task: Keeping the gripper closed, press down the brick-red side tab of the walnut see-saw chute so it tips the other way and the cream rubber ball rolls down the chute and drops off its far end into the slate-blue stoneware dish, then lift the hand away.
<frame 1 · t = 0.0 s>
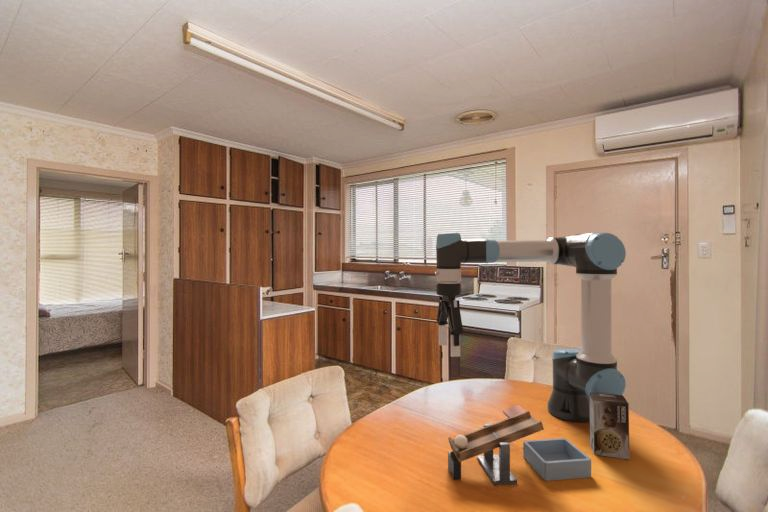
hand: (448, 350, 116), 28 cm above the table, fingers open, 13 cm apart
lever: (490, 428, 103), point 10 cm above the table, hinge at 17.1°, touching ball
coffee box: (608, 452, 109), on the table
fulcrum: (496, 470, 100), on the table
dish: (555, 466, 102), on the table
ball: (460, 441, 99), point 8 cm above the table, tilted 10°, touching lever
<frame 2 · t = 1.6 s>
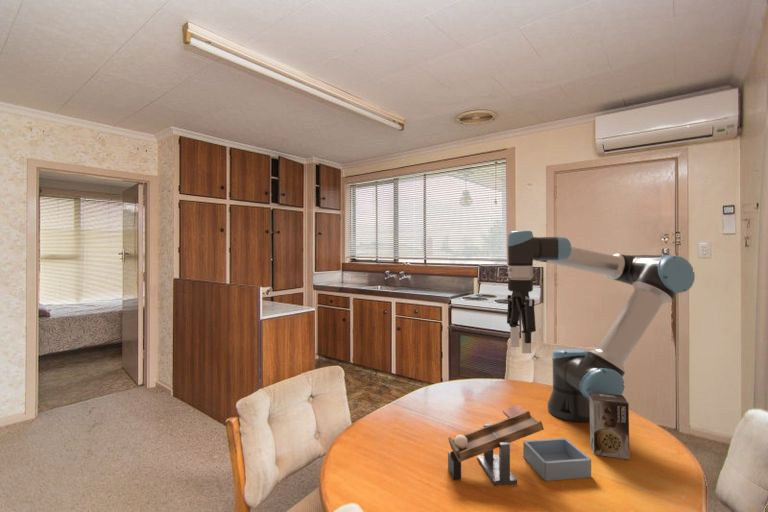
hand: (520, 349, 120), 27 cm above the table, fingers open, 7 cm apart
nothing on the table moved.
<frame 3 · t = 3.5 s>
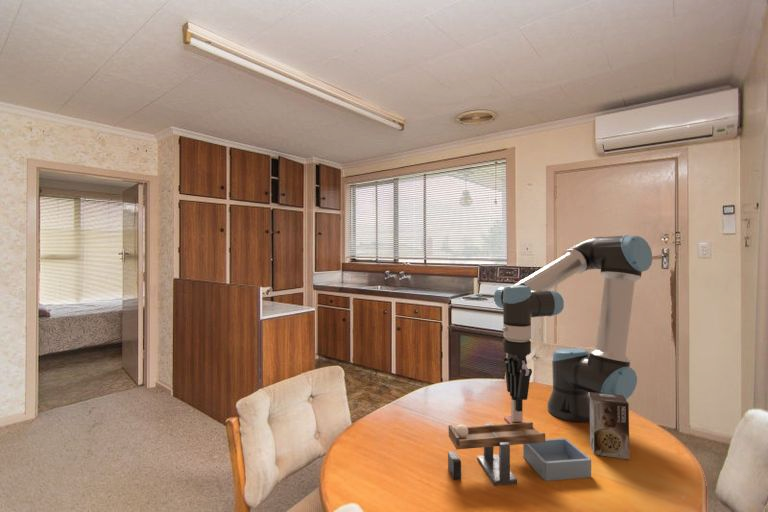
hand: (516, 420, 108), 10 cm above the table, fingers closed
lever: (491, 428, 103), point 10 cm above the table, hinge at 0.7°, touching ball, gripper
ball: (461, 431, 99), point 11 cm above the table, tilted 6°, touching lever
everything else where it was.
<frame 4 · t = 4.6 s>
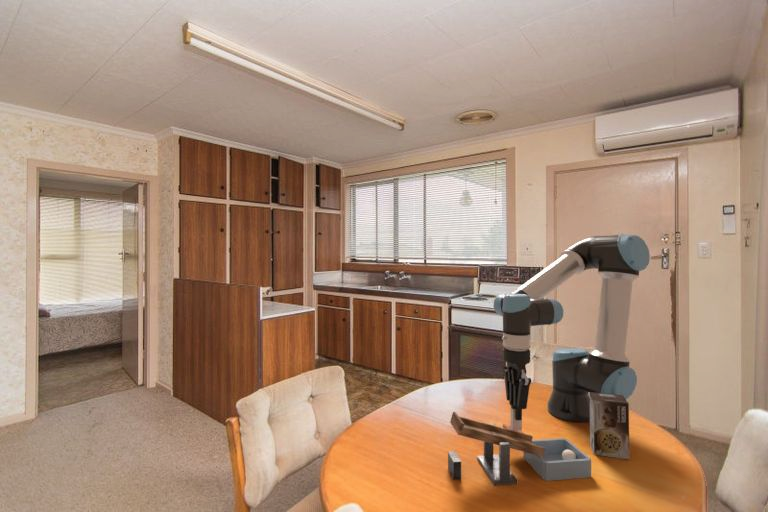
hand: (516, 429, 108), 7 cm above the table, fingers closed
lever: (492, 428, 103), point 10 cm above the table, hinge at -17.4°, touching gripper
ball: (569, 456, 102), point 2 cm above the table, tilted 10°, touching dish
everything else where it was.
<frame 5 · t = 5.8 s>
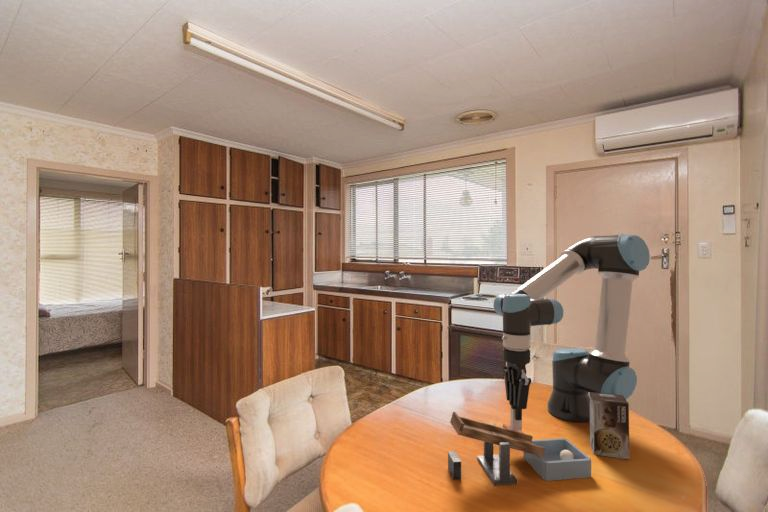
hand: (516, 429, 108), 7 cm above the table, fingers closed
ball: (566, 456, 102), point 2 cm above the table, tilted 30°, touching dish
everything else where it was.
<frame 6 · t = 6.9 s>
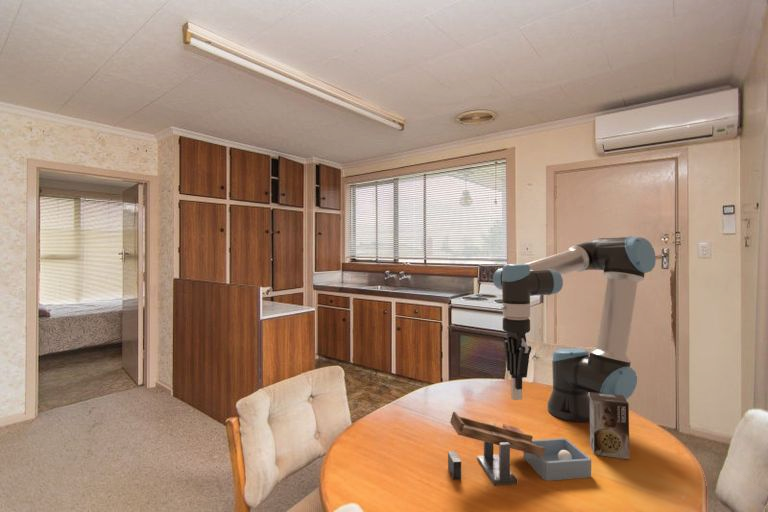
hand: (516, 398, 108), 16 cm above the table, fingers closed
lever: (492, 428, 103), point 10 cm above the table, hinge at -17.4°
ball: (565, 457, 102), point 2 cm above the table, tilted 48°, touching dish
everything else where it was.
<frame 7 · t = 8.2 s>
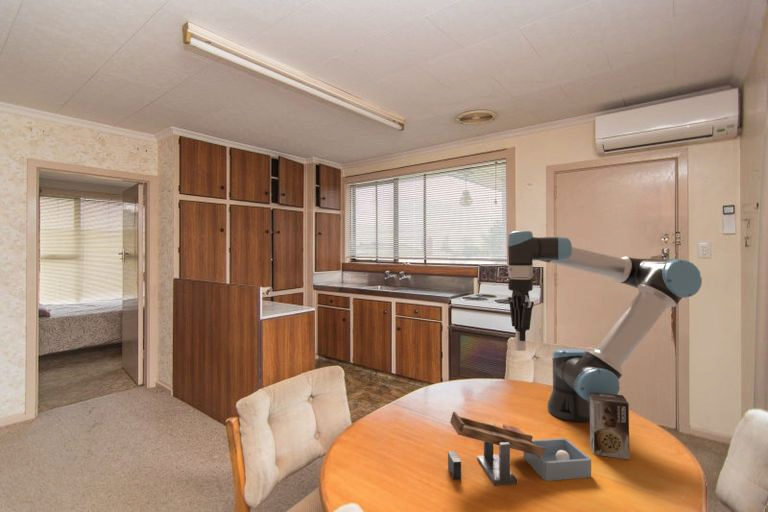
hand: (520, 350, 123), 26 cm above the table, fingers closed
ball: (562, 457, 102), point 2 cm above the table, tilted 69°, touching dish
everything else where it was.
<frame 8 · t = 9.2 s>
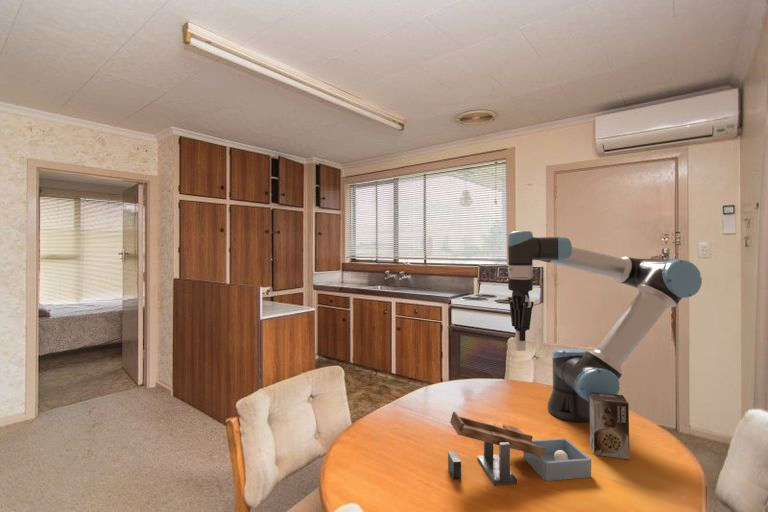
hand: (520, 349, 123), 26 cm above the table, fingers closed
ball: (561, 457, 102), point 2 cm above the table, tilted 86°, touching dish
everything else where it was.
at the end: ball inside the target area on the dish (1.5 cm from its centre), point 2.3 cm above the dish's base; ball moved 28.7 cm from its start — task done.
